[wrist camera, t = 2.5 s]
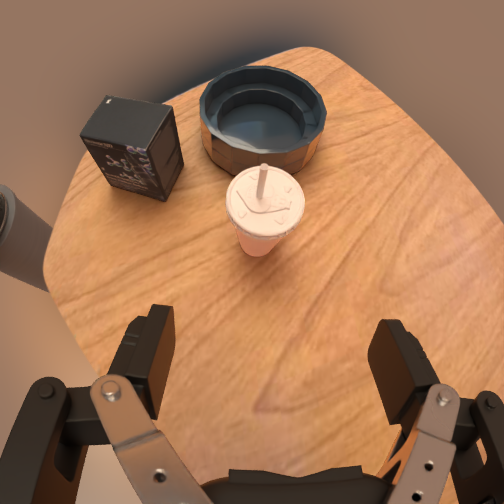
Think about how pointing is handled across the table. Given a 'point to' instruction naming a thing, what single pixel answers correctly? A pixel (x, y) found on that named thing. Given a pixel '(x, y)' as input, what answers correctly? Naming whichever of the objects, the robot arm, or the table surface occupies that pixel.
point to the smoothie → (263, 207)
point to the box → (135, 145)
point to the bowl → (261, 119)
